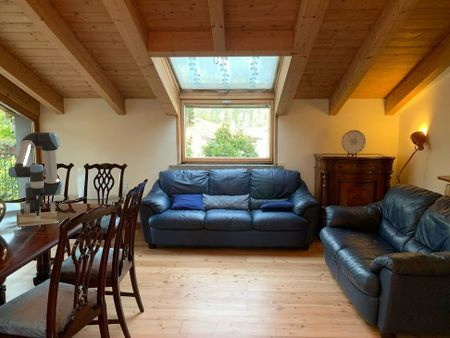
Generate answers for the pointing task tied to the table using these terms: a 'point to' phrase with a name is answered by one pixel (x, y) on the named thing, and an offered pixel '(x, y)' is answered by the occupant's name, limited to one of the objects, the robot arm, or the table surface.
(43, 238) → the table surface
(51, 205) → the post far
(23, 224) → the mat
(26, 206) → the post near
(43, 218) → the rail
